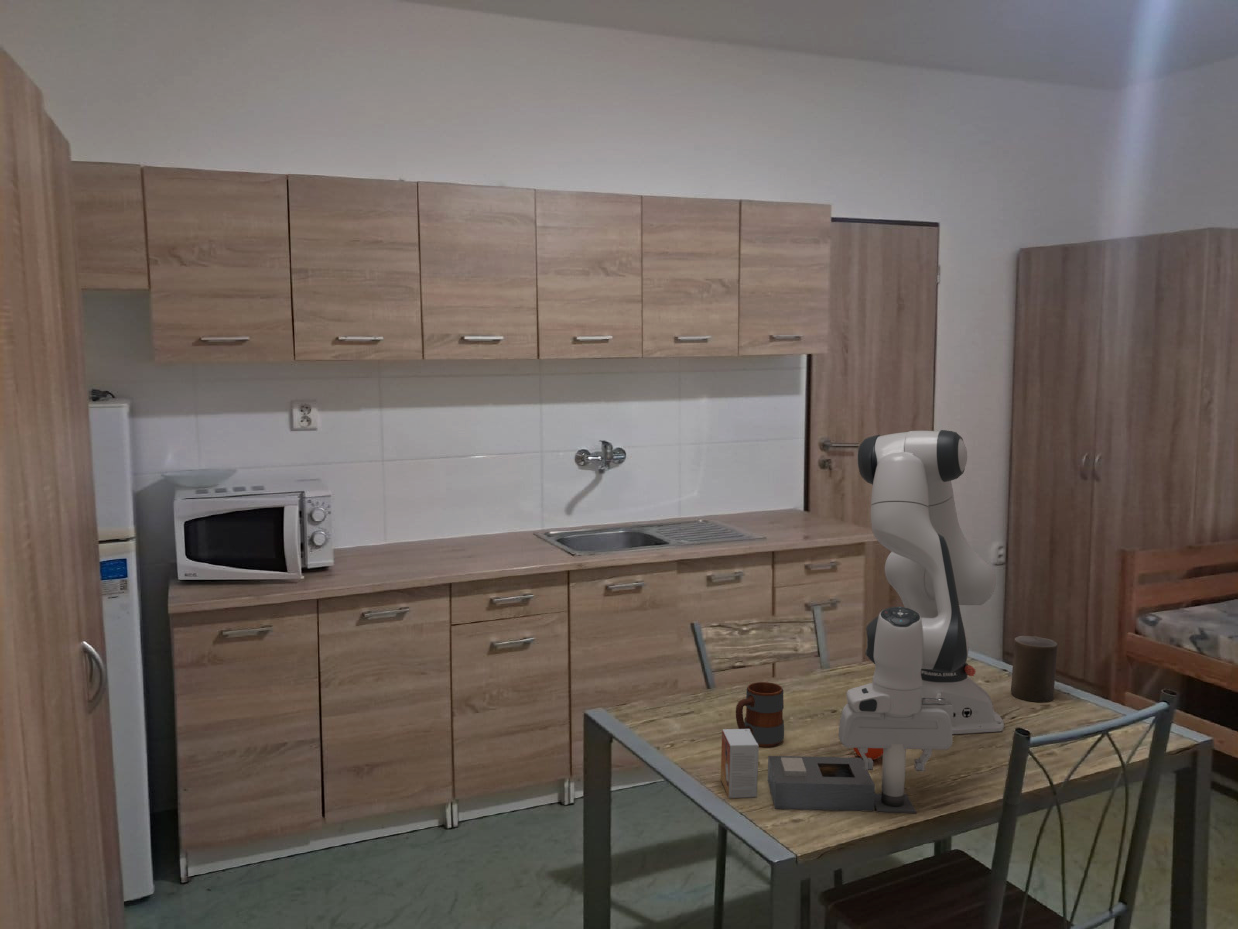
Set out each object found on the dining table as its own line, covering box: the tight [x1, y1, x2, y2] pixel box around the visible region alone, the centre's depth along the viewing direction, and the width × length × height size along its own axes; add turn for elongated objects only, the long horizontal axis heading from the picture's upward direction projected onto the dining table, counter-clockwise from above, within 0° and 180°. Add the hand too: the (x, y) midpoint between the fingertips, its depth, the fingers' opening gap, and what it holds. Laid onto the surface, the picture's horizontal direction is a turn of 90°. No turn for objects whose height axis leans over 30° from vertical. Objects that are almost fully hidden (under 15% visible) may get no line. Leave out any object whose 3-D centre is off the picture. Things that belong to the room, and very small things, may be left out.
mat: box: [874, 792, 917, 814], centre depth 185 cm, size 7×7×1 cm
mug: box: [735, 681, 785, 748], centre depth 213 cm, size 9×12×12 cm
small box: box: [720, 728, 760, 799], centre depth 191 cm, size 8×6×10 cm
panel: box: [767, 755, 876, 812], centre depth 188 cm, size 18×12×6 cm, turn 88°
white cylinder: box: [881, 744, 907, 807], centre depth 185 cm, size 4×4×12 cm
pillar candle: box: [1010, 635, 1058, 704], centre depth 242 cm, size 10×10×15 cm
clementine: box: [852, 748, 883, 761], centre depth 206 cm, size 8×7×7 cm
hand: (893, 769), depth 185 cm, fingers open, 8 cm apart
